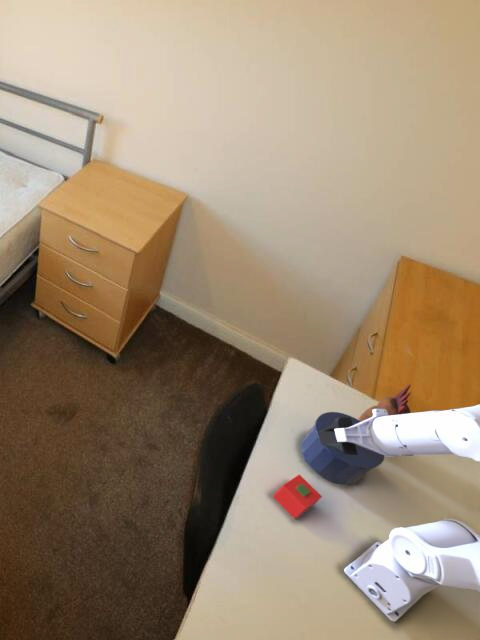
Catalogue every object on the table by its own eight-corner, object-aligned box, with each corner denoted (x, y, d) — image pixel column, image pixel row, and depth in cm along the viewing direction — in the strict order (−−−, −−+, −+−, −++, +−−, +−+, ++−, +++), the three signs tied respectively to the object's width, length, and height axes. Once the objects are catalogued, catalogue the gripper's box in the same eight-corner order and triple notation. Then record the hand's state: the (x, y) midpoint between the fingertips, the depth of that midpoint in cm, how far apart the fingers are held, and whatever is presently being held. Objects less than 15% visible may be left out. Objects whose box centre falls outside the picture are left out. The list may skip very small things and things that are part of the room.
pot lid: (357, 481, 88) (371, 469, 85) (299, 429, 95) (310, 416, 92) (394, 454, 92) (408, 441, 89) (336, 406, 99) (348, 393, 97)
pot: (339, 494, 92) (358, 477, 88) (289, 447, 99) (304, 428, 95) (372, 469, 96) (392, 451, 92) (322, 425, 103) (338, 407, 99)
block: (294, 519, 89) (306, 507, 86) (272, 496, 92) (283, 484, 89) (310, 507, 90) (323, 495, 87) (288, 485, 93) (300, 472, 90)
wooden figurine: (355, 417, 104) (398, 372, 95) (387, 437, 101) (435, 392, 92) (344, 437, 101) (387, 392, 91) (376, 458, 98) (425, 414, 88)
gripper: (449, 406, 78) (374, 414, 91) (360, 404, 77) (297, 413, 89) (465, 456, 75) (386, 458, 88) (374, 455, 74) (307, 457, 87)
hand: (342, 438), depth 88 cm, fingers open, 7 cm apart
